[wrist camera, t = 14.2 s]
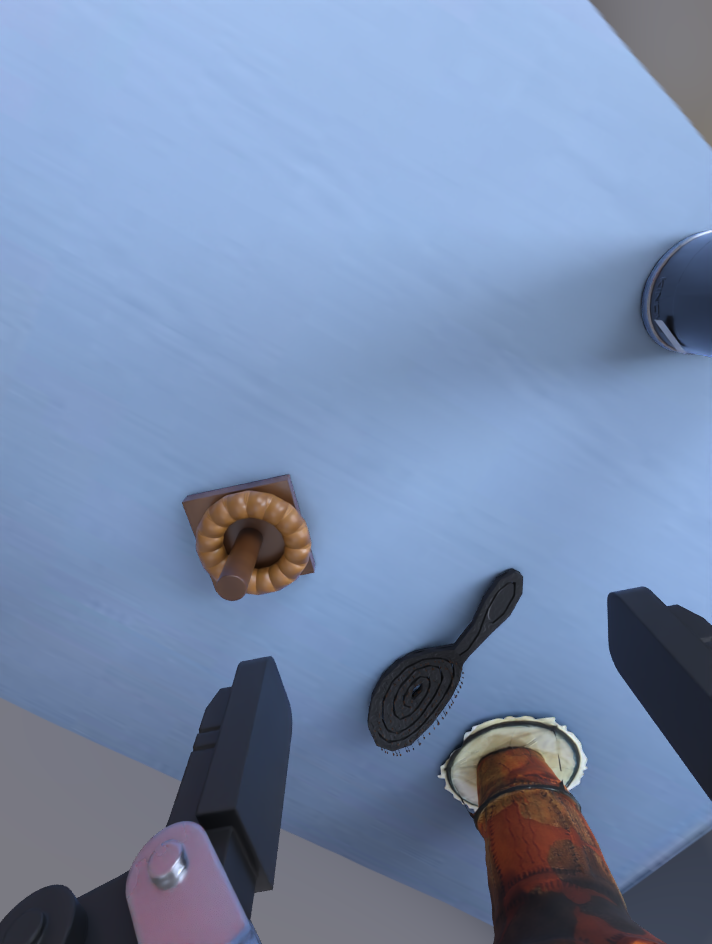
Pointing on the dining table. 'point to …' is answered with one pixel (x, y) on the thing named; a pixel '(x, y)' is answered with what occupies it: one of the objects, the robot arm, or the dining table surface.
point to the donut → (258, 508)
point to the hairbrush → (435, 672)
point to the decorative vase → (538, 836)
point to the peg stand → (246, 535)
